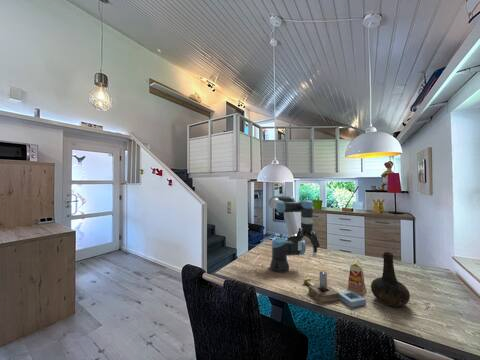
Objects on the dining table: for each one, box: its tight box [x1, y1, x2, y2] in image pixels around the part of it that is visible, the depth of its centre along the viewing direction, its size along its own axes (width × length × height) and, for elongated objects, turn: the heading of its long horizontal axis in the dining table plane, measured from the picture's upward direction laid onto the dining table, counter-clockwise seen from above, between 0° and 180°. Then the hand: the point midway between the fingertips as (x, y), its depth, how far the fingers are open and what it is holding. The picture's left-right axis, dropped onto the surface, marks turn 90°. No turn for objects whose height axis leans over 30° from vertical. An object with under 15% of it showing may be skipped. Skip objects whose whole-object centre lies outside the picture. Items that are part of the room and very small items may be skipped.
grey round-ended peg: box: [319, 270, 328, 292], centre depth 123 cm, size 4×4×14 cm
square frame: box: [338, 290, 367, 308], centre depth 118 cm, size 10×10×3 cm
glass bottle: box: [370, 251, 411, 308], centre depth 116 cm, size 18×18×28 cm
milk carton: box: [347, 257, 367, 295], centre depth 130 cm, size 9×9×20 cm
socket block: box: [308, 283, 340, 304], centre depth 123 cm, size 12×12×4 cm
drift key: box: [303, 277, 316, 287], centre depth 135 cm, size 9×4×3 cm, turn 16°
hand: (306, 253), depth 142 cm, fingers open, 13 cm apart
